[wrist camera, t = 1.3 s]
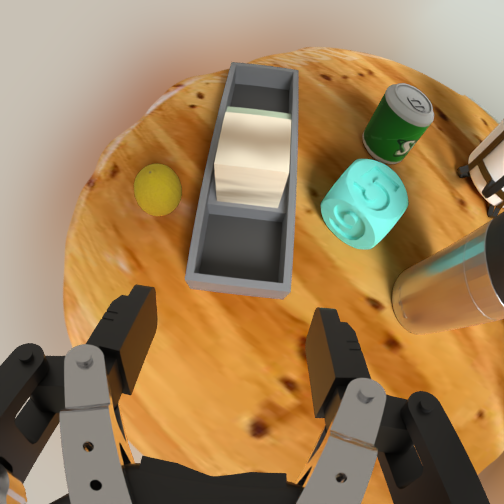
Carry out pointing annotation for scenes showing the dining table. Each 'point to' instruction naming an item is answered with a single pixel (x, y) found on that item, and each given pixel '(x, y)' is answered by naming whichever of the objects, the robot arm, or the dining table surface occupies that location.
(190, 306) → the dining table surface
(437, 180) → the dining table surface
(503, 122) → the coffee press
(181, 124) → the dining table surface
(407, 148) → the soda can
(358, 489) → the robot arm
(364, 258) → the dining table surface
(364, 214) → the decorative dice
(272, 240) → the tray
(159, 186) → the lemon
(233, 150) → the ash block
